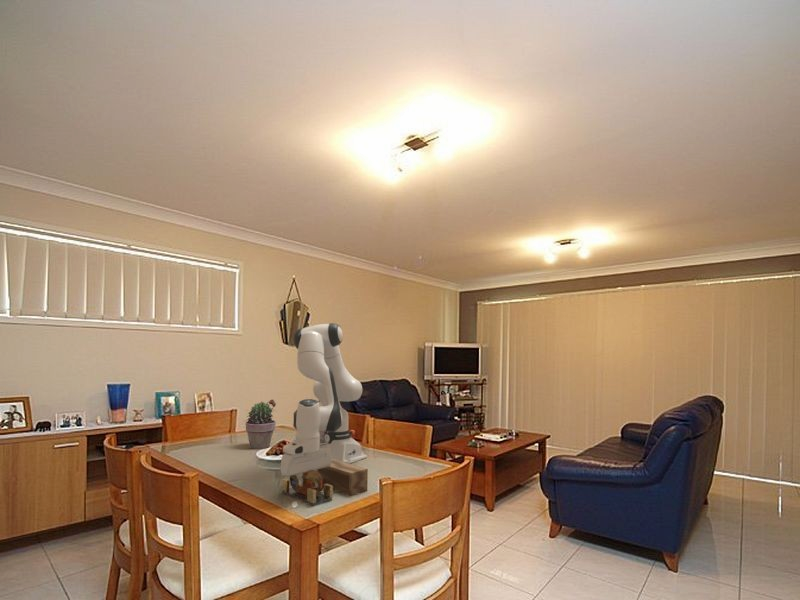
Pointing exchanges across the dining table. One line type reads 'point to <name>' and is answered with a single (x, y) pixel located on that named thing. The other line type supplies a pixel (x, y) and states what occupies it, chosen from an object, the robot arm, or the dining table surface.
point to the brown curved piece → (307, 482)
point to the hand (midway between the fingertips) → (306, 483)
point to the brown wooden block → (345, 477)
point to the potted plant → (260, 425)
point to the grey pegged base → (308, 494)
